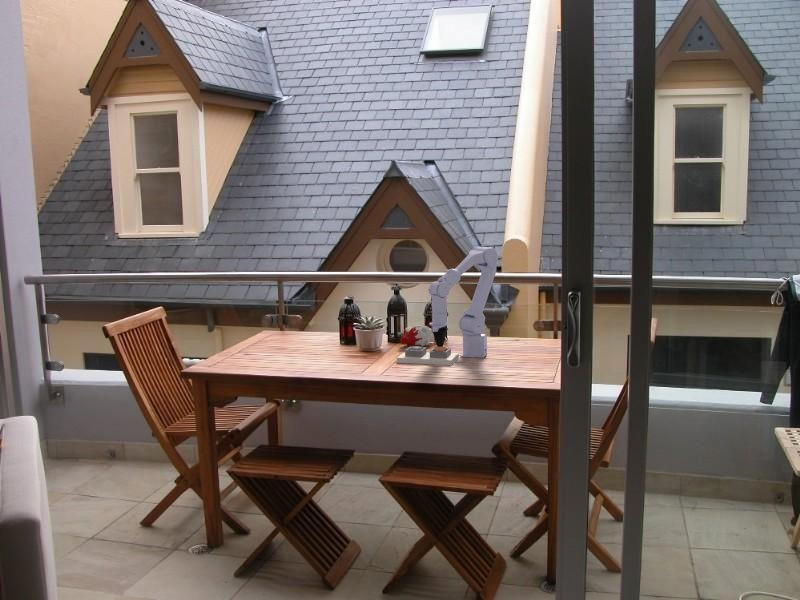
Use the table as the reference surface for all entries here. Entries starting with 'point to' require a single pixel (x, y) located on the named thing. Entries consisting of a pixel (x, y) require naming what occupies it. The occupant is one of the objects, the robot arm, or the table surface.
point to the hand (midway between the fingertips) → (440, 346)
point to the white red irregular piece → (416, 335)
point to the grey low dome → (416, 348)
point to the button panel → (428, 357)
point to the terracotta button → (440, 348)
